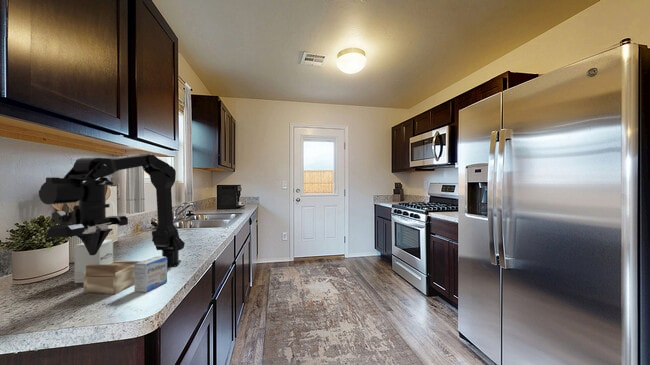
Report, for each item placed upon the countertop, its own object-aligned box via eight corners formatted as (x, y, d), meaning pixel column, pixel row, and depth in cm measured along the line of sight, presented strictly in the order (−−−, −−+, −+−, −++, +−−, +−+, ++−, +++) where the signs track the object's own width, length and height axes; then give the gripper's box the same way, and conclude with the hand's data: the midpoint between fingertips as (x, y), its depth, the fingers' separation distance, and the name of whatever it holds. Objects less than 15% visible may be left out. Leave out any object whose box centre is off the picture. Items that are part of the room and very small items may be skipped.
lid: (114, 265, 84) (114, 256, 84) (139, 265, 84) (139, 256, 84) (85, 276, 74) (85, 265, 74) (114, 276, 74) (114, 265, 74)
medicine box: (146, 292, 75) (146, 264, 75) (133, 291, 76) (133, 263, 76) (167, 282, 83) (167, 256, 83) (156, 281, 83) (156, 255, 83)
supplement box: (99, 281, 83) (99, 244, 83) (73, 283, 82) (73, 245, 82) (114, 273, 90) (114, 239, 90) (90, 275, 89) (90, 239, 89)
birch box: (115, 279, 85) (115, 261, 85) (144, 279, 85) (144, 261, 85) (83, 293, 74) (83, 272, 74) (116, 293, 74) (116, 273, 74)
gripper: (95, 198, 81) (96, 246, 81) (25, 204, 63) (26, 266, 63) (129, 198, 81) (129, 246, 81) (68, 204, 62) (69, 266, 62)
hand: (92, 255), depth 72 cm, fingers closed
